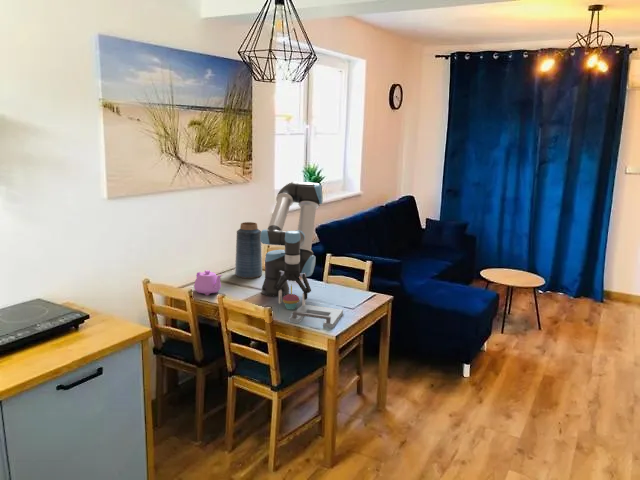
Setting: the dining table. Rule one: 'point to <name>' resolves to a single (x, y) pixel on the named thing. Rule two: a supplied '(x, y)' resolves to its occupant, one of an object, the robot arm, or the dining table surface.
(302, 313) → the grey handled tray
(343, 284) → the dining table surface
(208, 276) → the teapot
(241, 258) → the blue thread spool
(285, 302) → the cupcake
